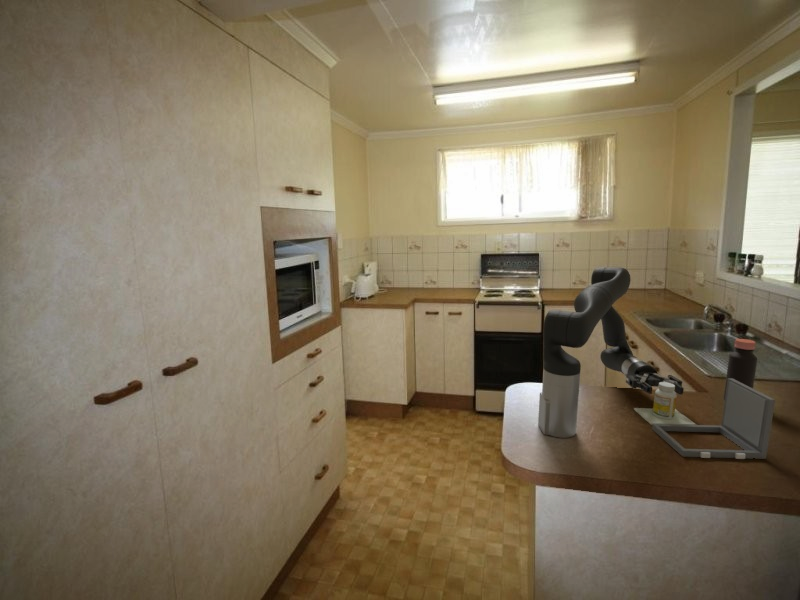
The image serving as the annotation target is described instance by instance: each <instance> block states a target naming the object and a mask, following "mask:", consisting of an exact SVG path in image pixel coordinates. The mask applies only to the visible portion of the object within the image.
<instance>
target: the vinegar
mask: <svg viewBox="0 0 800 600" xmlns="http://www.w3.org/2000/svg"><path fill="white" fill-rule="evenodd" d="M734 340H735V341H734V350H733V352H731V353H729V354H728V362H727V370H726V377H725V384H724V385H725V386H724V391H723V393H724V394H723V400H724V401H725V395H726V387H727V380H728V378H733V379H735V380H737V381H739V382H741V383H743V384H745V385H747V386H749V387H751V388H753V389H754V387H755V386H754V384H755V380H756V379H755V377H756V370H757V364H758V358H757V356H756V355H755V354H754V351H755V349H756V344H757V343H756V341H754V340H752V339H746V338H736V339H734Z"/></svg>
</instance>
